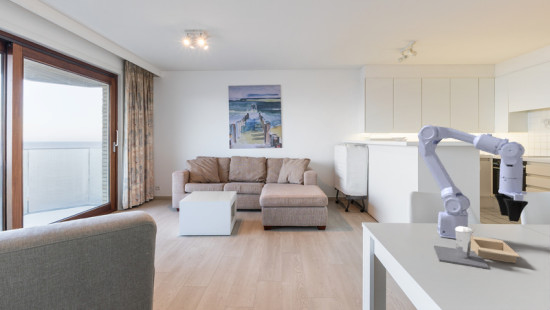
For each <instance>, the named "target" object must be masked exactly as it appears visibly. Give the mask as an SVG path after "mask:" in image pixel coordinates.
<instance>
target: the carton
mask: <svg viewBox="0 0 550 310" xmlns="http://www.w3.org/2000/svg"><path fill="white" fill-rule="evenodd" d="M470 250H471V251H475V252H476V254H477V255H478V256H481V257H482V259H485V260H486V259H487V260H494V261H500V262H505V263H506V262H507V263H514V264H517V258H521V256H520V255H519V254H518V253H517V252H516V251H515V250H514V249H513V248H511V247H510V246H509V245H508V244H507V243H506V242H505V241H503V240H502V239H496V238H495V239H494V238H488V237H480V236H479V237H478V236H473V237H472V242H471V249H470Z"/></svg>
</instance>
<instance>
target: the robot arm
mask: <svg viewBox="0 0 550 310" xmlns="http://www.w3.org/2000/svg"><path fill="white" fill-rule="evenodd" d="M417 138H418V153H419V154H420V157H421V158H422V160H423V161H424V164H425V166H426V167H427V169H428V171H429V172H430V174H431V176H432V177H433V180H434V181H435V183H436V184H437V187H438V188H439V190H440V191H441V192H440V194H441V195H440V196H441V199H442V203H443V208H444V211H439V212H438V215H437V230H436V231H437V233H438V235H439V237H440V238H447V239H453V240H456V234H455V228H456V227H458V226H463V227H468V225H469V213H468V210H467V209H469V208H470V206H471V202H470V201H471V200H470V199H469V197H467V196H466V195H465V194H464V193H463V192H462V191H461V190H460V189H459V188H458V187H457V185H456V184H455V183H454V182H453V180H452V177H450V174H449V173H448V171H447V169H446V168H445V165H444V164H443V162H442V161H441V159H440V158H439V156H438V154H437V153H436V149H437V146H438V144H439V143H441V141H442V140H445V139H446V140H447V139H454V140H457V141H461V142H464V143H468V144H471V145H473V147H474V148H475V149H476V150H479V151H482V152H485V153H489V154H491V155H494V156H498V155H499V156H500V164H499V186H498V188H499V189H498V193H499V194H496V193H495V194H494V198H495V199H496V201H497V203H498V207H499V213H500V214H501V216H505V217H506V216H507V217H508V220H509V221H510V222H517V223H518V222H519V221H520V218H521V215H522V212H523V211H524V209H525V208H526V207H527V205H528V204H529V201H527V200H524V195H527V194H528V192H527V191H523V177H524V175H523V174H524V164H523V162H524V158H523V156H524V154H525V151H526V150H525V147H524V146H523V144H521V143H520V142H517V141H510V139H509V138H501V137H496V136H493V134H492V133H486V134H485V133H482V134H480V135H474V134H471V133H468V132H465V131H462V130H458V129H456V128H452V127H444V126H439V125H431V124H426V125H424V126H422V127H421V128H420V131H419V132H418V135H417ZM509 141H510V142H509ZM468 228H469V227H468Z"/></svg>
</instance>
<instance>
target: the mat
mask: <svg viewBox="0 0 550 310" xmlns="http://www.w3.org/2000/svg"><path fill="white" fill-rule="evenodd" d="M433 248H434V250H435V254H436V256H437V258H438V261H439V262H443V263H449V264H455V265H461V266H468V267H474V268H480V269H484V270H485V269H486V270H490V266H488V264H487V263H486V261H485V260H484V258H482V257H481V256H478V255H477V254H476V252H475V251H473V250H470V256H469V258H462V257H459V256H457V251H456V247H455V248H453V247H448V246H440V245H433Z"/></svg>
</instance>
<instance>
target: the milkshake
mask: <svg viewBox="0 0 550 310" xmlns="http://www.w3.org/2000/svg"><path fill="white" fill-rule="evenodd" d="M476 228H477V226H475V228H474V229H472V228H471V227H463V226H458V227H456V228H455V234H456V239H455V243H456V245H455V246H456V247H455V249H456V251H457V256H459V257H462V258H469V256H470V251H471V250H472V249H471V242H472V237H474V232H475V230H476Z"/></svg>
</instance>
